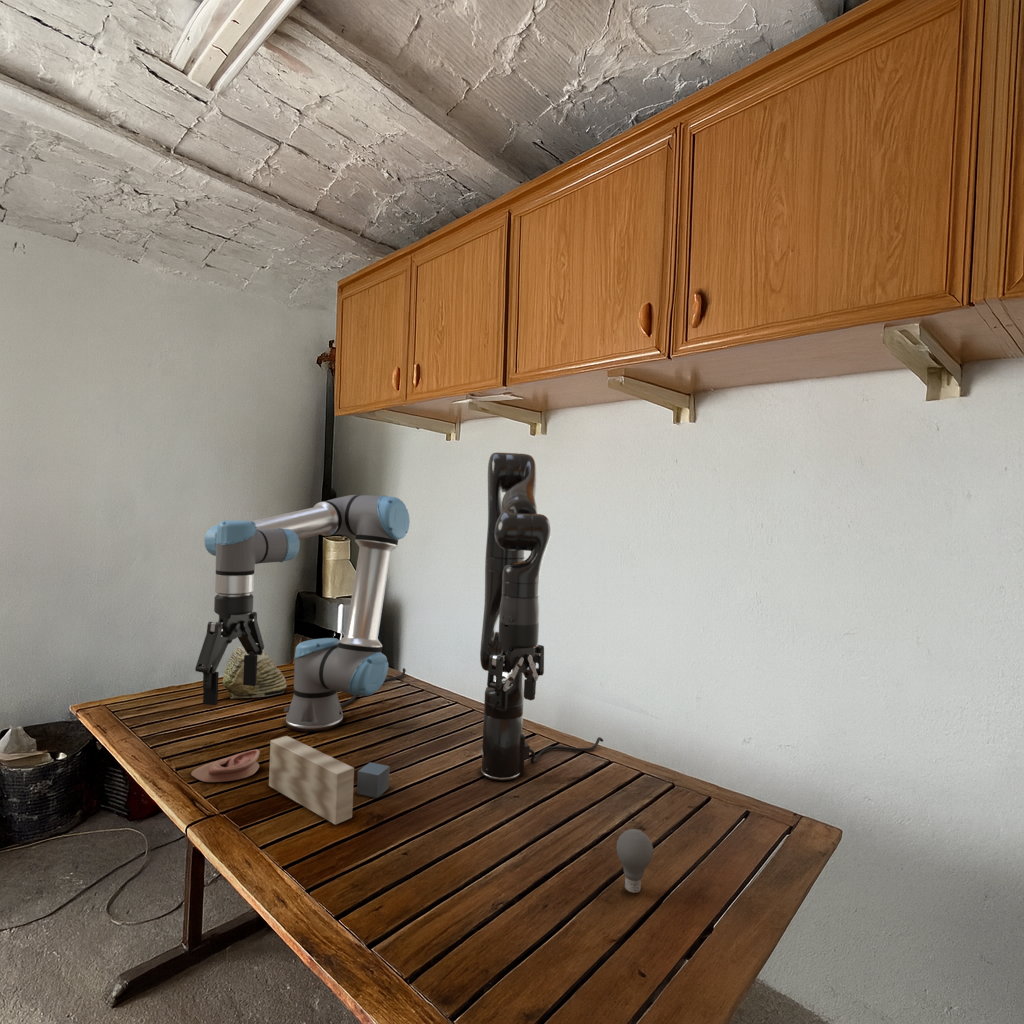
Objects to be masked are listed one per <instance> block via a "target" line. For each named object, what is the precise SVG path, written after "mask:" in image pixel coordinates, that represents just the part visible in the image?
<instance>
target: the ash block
mask: <svg viewBox="0 0 1024 1024" xmlns="http://www.w3.org/2000/svg"><path fill="white" fill-rule="evenodd" d="M269 747H270V749H269V769H268V770H269V771H268V787H270V788H272V789H273V790H274V791H277V792H278V793H280V794H282V795H284V796H285V797H287V798H288V799H290V800H292V801H294V802H295V803H297V804H298V805H301V806H302V807H304V808H306V809H307V810H308V811H311V812H312V813H315V814H316V815H317V816H319V817H321V818H323V819H324V820H326V821H328V822H330V823H331V824H333V825H335V826H336V825H339V824H341V823H343V822H345V821H348V820H350V819H352V818H353V808H354V807H353V806H354V804H353V803H354V784H355V783H354V782H355V781H354V780H355V778H354V777H355V767H353V766H351V765H349V764H347V763H346V762H345V763H344V762H343V761H341V760H338V759H336V758H334V757H333V756H330V755H329V754H326V753H324V752H321V751H320V750H318V749H316V748H313V747H311V746H309V745H307V744H305V743H303V742H301V741H299V740H297V739H295V738H293V737H290V736H288V735H285V736H281V737H278V738H275V739H271V740H270V741H269Z"/></svg>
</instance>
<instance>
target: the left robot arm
mask: <svg viewBox="0 0 1024 1024" xmlns="http://www.w3.org/2000/svg"><path fill="white" fill-rule="evenodd" d="M410 523H411V521H410V514H409V511H408V508H407V506H406V504H405V503H404V501H402V499H400V498H398V497H395V496H389V495H370V494H369V495H368V494H367V495H365V494H349V495H344V496H340V497H335V498H331V499H328V500H324V501H320V502H317V503H316V504H314V505H313V507H309V508H305V509H300V510H296V511H290V512H287V513H281V514H278V515H272V516H269V517H264V518H259V519H255V520H237V519H236V520H234V519H233V520H231V519H230V520H229V519H227V520H226V519H225V520H221V521H220V522H219V523H218V524H216V525H213V526H211V527H210V528H208V530H207V531H206V533H205V535H204V547H205V550H206V551H207V552H208V554H210V555H211V556H213V557H215V583H214V592H215V594H216V595H215V596H214V599H213V600H214V601H213V602H214V603H213V605H214V606H213V612H214V613H215V614H216V615H218V620H217V621H208V623H207V627H206V634H205V637H204V640H203V643H202V646H201V649H200V652H199V656H198V659H197V661H196V665H195V672H198V673H202V689H203V691H202V692H203V693H202V694H203V695H202V705H208V706H217V705H218V703H219V675H220V674H219V673H220V672H219V671H217V670H218V667H219V665H220V663H221V660H222V659H223V656H224V654H225V652H226V650H227V648H228V646H229V645H230V644H232V642H233V641H234V640H235V639H238V641H239V642H240V644H241V645H242V646H241V647H244V649H245V651H246V653H247V654H249V655H245V656H244V676H243V685H250V686H255V685H256V679H257V655H262V653H263V650H264V649H265V644H264V641H263V637H262V634H261V630H260V626H259V623H258V612H257V611H254V595H253V594H252V593H254V591H255V569H256V565H257V564H258V565H259V564H268V563H284V562H288V561H291V560H293V559H295V558H296V557H297V556H298V554H299V551H300V546H301V545H300V544H301V543H300V542H301V541H302V540H304V539H308V538H312V537H316V536H319V535H321V536H323V537H329V536H332V535H333V536H334V535H345V536H346V535H348V536H355V538H354V542H355V543H356V544H357V546H358V548H359V550H358V556H357V562H356V569H355V574H354V580H353V585H352V586H353V587H352V594H351V598H350V599H351V601H350V604H349V605H350V606H349V612H348V617H347V618H348V619H347V625H346V631H345V635H344V636H342V638H340V639H338V638H335V637H322V638H313V639H308V640H304V641H302V642H299V643H298V644H297V645H296V647H295V652H294V653H295V654H294V657H293V659H294V660H293V662H294V663H293V665H294V666H293V695H292V696H293V697H292V699H291V702H290V704H289V705H287V706H285V707H284V708H283V712H284V713H286V715H285V726H286V728H287V729H289V730H291V731H294V732H295V731H296V732H301V733H316V732H325V731H329V730H332V729H335V728H337V727H339V726H340V725H342V723H343V722H344V714H343V709H342V707H345V706H347V705H349V704H351V703H352V702H353V701H355V700H356V699H357V696H361V697H370V696H372V695H374V694H375V693H376V692H377V691H379V690H380V688H381V687H382V686H383V684H384V683H385V682H390V681H394V680H398V679H401V678H403V677H404V676H405V674H406V672H407V670H406V668H405V667H402V672H401V674H402V675H401V674H399V675H396V676H392V677H387V676H388V672H389V662H388V658H387V656H386V655H385V654H384V653H382V651H383V644H382V643H381V642H380V640H379V638H378V637H379V633H380V626H381V619H382V613H383V608H384V607H383V606H384V600H385V595H386V594H385V593H386V588H387V580H388V573H389V567H390V560H391V553H392V552H393V551H394V550H395V549H397V547H398V545H399V541H400V540H401V539H404V538H405V537H406V535H407V534H408V532H409V529H410ZM300 540H301V541H300ZM338 692H341V693H345V694H349V695H352V697H351V698H350V699H348V700H347V701H344V702H342V703H341V702H340V699H339V695H338Z"/></svg>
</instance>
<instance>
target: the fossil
mask: <svg viewBox="0 0 1024 1024" xmlns="http://www.w3.org/2000/svg"><path fill="white" fill-rule="evenodd" d="M245 655H249V654H247V653H246V651H245V649H244V647H243V646H238V647H237V648H236V649H235V650H233V651H232V653H231V656H230V657H229V659H228V660H227V663H226V666H225V668H224V671H223V675H222V676H223V677H222V685H223V687H224V688H225V690H226V691H228V693H229V698H230V699H250V698H264V697H271V696H275V695H281V694H284V693H285V691H286V689H287V687H288V686H287V680H286V678H285V676H284V674H283V673H282V672H281V669H279V668H278V667H277V665H276V663H275V662H274V660H273V659H272V658H271V657H270V656H269V655H268V654H267V653H266V652H265V650H264V649H263V653H262V655H257V679H256V685H255V686H250V685H243V676H244V656H245Z"/></svg>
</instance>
